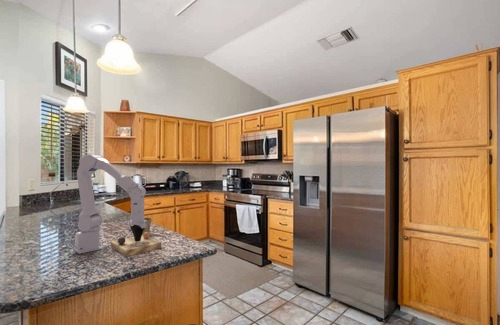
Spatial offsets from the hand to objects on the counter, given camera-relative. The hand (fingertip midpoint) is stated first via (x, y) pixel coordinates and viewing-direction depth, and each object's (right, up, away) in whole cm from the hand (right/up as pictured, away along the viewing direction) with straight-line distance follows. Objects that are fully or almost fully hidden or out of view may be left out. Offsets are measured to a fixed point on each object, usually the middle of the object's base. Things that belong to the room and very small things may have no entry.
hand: (137, 240), depth 121 cm
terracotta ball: (+1, +1, +7) cm, 8 cm away
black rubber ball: (-7, +1, -2) cm, 7 cm away
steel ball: (+1, -2, -2) cm, 3 cm away
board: (-2, -3, +2) cm, 4 cm away
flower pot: (-8, -4, +24) cm, 26 cm away
